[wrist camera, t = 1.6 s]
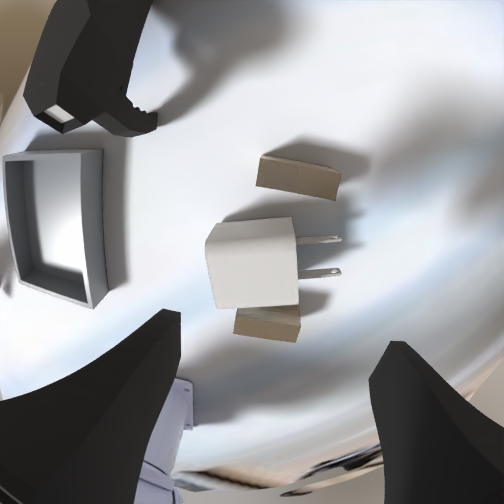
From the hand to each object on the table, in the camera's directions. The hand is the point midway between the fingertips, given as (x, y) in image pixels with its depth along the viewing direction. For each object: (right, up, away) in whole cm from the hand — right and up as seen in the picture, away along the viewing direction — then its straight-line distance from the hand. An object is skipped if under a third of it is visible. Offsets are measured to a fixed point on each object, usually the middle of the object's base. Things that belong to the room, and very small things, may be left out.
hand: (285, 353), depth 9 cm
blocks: (+1, +4, +8) cm, 9 cm away
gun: (-8, +18, +3) cm, 20 cm away
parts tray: (-16, +6, +9) cm, 19 cm away
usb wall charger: (0, +4, +9) cm, 9 cm away
